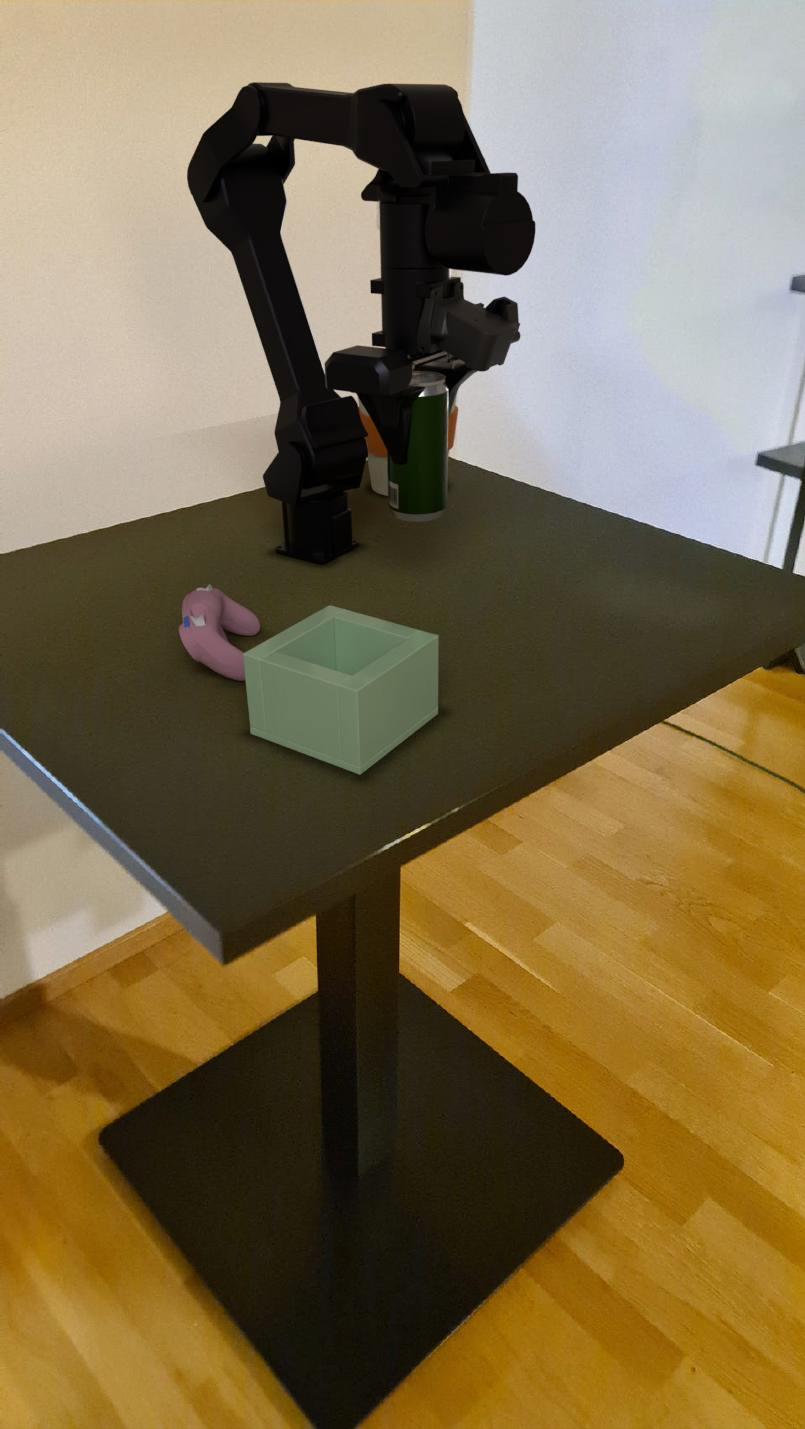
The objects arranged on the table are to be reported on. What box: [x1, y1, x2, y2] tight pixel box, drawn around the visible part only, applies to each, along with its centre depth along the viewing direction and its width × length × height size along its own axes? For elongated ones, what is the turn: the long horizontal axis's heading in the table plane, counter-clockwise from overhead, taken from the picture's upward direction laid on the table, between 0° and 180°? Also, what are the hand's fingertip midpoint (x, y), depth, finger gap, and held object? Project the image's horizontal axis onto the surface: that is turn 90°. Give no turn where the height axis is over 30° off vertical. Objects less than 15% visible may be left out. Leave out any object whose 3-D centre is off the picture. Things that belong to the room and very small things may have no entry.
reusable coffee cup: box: [357, 356, 459, 497], centre depth 122 cm, size 12×13×15 cm
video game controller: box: [178, 583, 261, 682], centre depth 84 cm, size 10×5×7 cm, turn 5°
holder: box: [243, 604, 440, 776], centre depth 74 cm, size 10×10×7 cm
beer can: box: [387, 371, 449, 522], centre depth 90 cm, size 5×5×12 cm
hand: (416, 456), depth 91 cm, fingers closed on beer can, 5 cm apart
